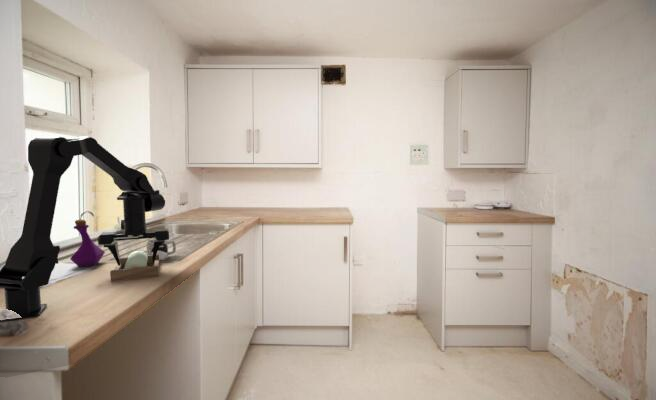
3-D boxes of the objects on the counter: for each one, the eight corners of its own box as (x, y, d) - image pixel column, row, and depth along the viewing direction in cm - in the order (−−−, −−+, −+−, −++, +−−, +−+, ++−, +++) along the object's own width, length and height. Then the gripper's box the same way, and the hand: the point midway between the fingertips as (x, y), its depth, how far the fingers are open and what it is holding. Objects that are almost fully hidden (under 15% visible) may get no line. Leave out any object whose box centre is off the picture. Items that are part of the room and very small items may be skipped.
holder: (158, 276, 100) (157, 266, 100) (110, 281, 95) (110, 271, 95) (159, 262, 115) (158, 254, 115) (117, 266, 110) (117, 257, 109)
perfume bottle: (70, 268, 107) (66, 212, 106) (80, 262, 115) (77, 210, 113) (97, 267, 109) (94, 212, 108) (105, 261, 117) (103, 209, 115)
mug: (152, 262, 116) (151, 243, 115) (143, 259, 120) (143, 240, 119) (180, 256, 123) (179, 238, 123) (171, 253, 128) (171, 236, 127)
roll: (146, 275, 102) (145, 257, 101) (124, 277, 99) (124, 259, 99) (148, 266, 111) (147, 249, 110) (128, 268, 108) (127, 251, 108)
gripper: (168, 209, 115) (169, 254, 116) (102, 212, 107) (105, 260, 108) (168, 213, 105) (169, 262, 106) (96, 216, 97) (99, 269, 98)
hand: (136, 263), depth 105 cm, fingers open, 9 cm apart
